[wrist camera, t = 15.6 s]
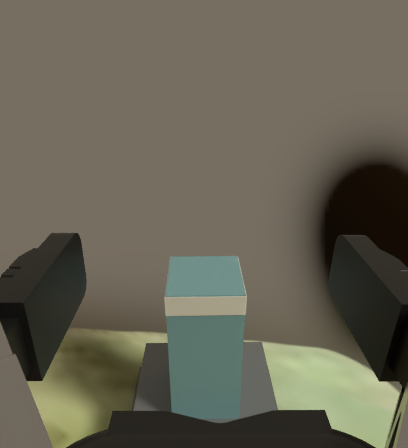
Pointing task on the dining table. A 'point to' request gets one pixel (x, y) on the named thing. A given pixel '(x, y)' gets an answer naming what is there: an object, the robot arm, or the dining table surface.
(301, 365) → the dining table surface
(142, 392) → the podium
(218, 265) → the carton
